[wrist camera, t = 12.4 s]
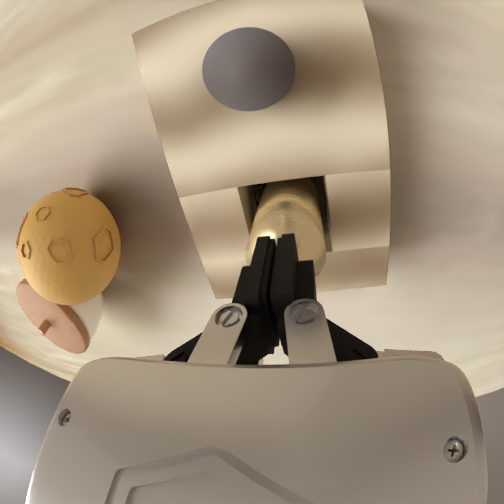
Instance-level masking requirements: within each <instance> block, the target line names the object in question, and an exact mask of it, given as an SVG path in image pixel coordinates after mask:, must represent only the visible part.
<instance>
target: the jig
mask: <svg viewBox="0 0 504 504" xmlns="http://www.w3.org/2000/svg"><path fill="white" fill-rule="evenodd" d="M132 37H133V42H134V46H135V50H136V54H137V58H138V62H139V66H140V70H141V74H142V78H143V82H144V85H145V89H146V93H147V96H148V100H149V104H150V107H151V111H152V114H153V118H154V121H155V124H156V128H157V131H158V135H159V138H160V141H161V144H162V148H163V151H164V154H165V157H166V160H167V164H168V167H169V170H170V173H171V176H172V179H173V182H174V185H175V188H176V191H177V194H178V197H179V200H180V203H181V206H182V209H183V211H184V214H185V217H186V220H187V223H188V226H189V228H190V231H191V234H192V237H193V239H194V242H195V245H196V248H197V250H198V253H199V256H200V258H201V261H202V264H203V266H204V269H205V272H206V274H207V277H208V279H209V282H210V284H211V287H212V290H213V292H214V295H215V297H216V299H222V298H233V297H234V293H235V290H236V286H237V283H238V279H239V276H240V272H241V269H242V267H243V266H248V264H247V262H246V257H245V250H246V245H247V242H248V238H249V235H250V232H251V229H252V225H253V222H254V219H255V216H256V212H257V204H256V200H255V196H254V192H253V187H252V185H254V184H261V183H267V182H274V181H282V180H289V179H297V178H305V177H313V176H322V175H323V183H324V191H325V200H326V209H327V219H328V223H322V226H323V233H324V240H325V247H326V262H325V265H324V268H323V270H322V271H321V273H320V274H319V275H318V276H317V277H316V278H315V281H316V292H324V291H335V290H345V289H354V288H364V287H373V286H381V285H386V281H387V271H388V259H389V244H390V220H391V178H390V155H389V140H388V128H387V119H386V110H385V102H384V95H383V88H382V82H381V76H380V70H379V65H378V60H377V55H376V50H375V46H374V41H373V37H372V33H371V29H370V25H369V22H368V18H367V14H366V11H365V7H364V4H363V1H362V0H217V1H213V2H210V3H207V4H204V5H200V6H197V7H194V8H192V9H189V10H186V11H183V12H180V13H178V14H175V15H173V16H170V17H168V18H165V19H163V20H161V21H158V22H156V23H154V24H151V25H149V26H147V27H145V28H143V29H141V30H139V31H137V32H135V33H133V34H132Z"/></svg>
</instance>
